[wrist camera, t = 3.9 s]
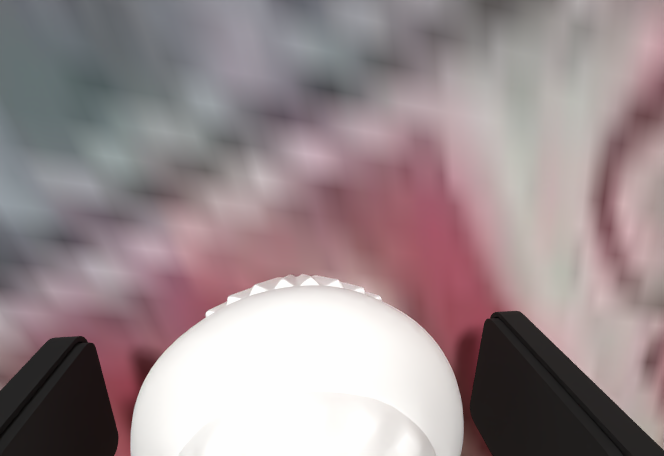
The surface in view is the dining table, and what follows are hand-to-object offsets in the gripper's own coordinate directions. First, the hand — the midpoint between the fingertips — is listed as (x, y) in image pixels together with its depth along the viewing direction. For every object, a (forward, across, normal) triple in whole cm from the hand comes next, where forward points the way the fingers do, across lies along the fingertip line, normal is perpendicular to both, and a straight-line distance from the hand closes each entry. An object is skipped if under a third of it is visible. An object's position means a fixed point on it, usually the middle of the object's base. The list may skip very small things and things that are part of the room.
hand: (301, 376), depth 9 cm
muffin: (+2, 0, 0) cm, 2 cm away
